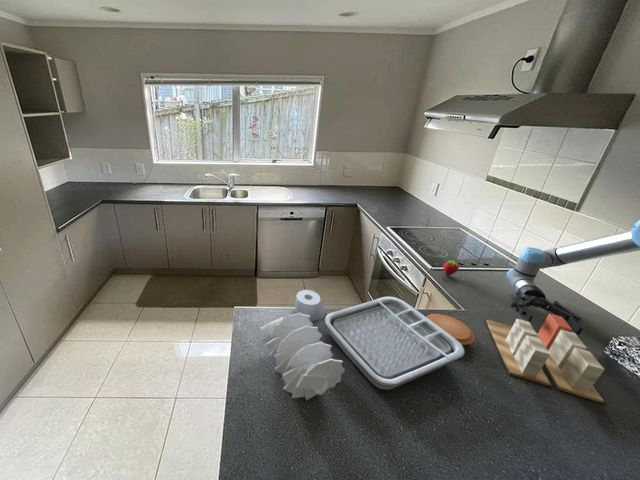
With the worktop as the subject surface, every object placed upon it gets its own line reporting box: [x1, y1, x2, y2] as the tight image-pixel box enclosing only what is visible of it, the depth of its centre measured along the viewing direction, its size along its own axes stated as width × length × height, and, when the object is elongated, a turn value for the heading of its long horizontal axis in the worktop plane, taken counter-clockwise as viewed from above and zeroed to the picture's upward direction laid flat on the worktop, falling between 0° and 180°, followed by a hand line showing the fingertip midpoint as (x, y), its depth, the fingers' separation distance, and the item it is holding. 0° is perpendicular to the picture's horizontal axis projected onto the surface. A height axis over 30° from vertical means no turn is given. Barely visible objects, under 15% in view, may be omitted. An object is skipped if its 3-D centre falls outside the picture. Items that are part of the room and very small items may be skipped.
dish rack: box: [324, 296, 465, 391], centre depth 96 cm, size 32×37×8 cm
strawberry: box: [443, 259, 459, 277], centre depth 141 cm, size 6×8×10 cm
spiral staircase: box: [260, 312, 346, 401], centre depth 85 cm, size 18×18×25 cm
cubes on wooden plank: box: [536, 330, 605, 404], centre depth 93 cm, size 26×10×11 cm, turn 156°
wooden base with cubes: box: [485, 318, 552, 387], centre depth 97 cm, size 26×10×11 cm, turn 156°
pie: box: [425, 313, 476, 347], centre depth 104 cm, size 15×16×5 cm
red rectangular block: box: [537, 313, 573, 349], centre depth 99 cm, size 7×4×10 cm, turn 156°
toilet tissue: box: [293, 289, 326, 323], centre depth 112 cm, size 9×13×9 cm
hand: (554, 325), depth 100 cm, fingers open, 13 cm apart
